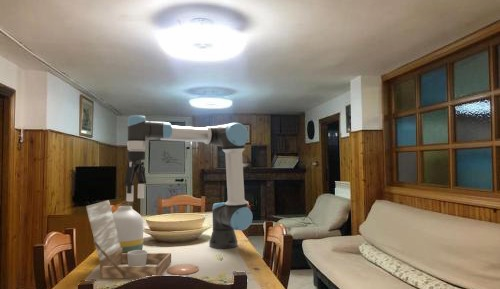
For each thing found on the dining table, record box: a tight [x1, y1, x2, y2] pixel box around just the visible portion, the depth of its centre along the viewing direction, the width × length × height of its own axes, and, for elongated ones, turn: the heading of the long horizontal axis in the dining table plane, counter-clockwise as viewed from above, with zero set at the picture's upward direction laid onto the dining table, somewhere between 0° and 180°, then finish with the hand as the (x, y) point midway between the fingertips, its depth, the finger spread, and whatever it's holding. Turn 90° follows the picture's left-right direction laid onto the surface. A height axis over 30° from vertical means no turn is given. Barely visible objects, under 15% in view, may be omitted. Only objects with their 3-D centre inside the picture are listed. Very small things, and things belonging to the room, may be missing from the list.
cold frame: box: [85, 199, 172, 279], centre depth 159 cm, size 29×23×28 cm
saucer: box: [166, 263, 200, 276], centre depth 159 cm, size 13×13×1 cm
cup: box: [127, 249, 148, 266], centre depth 159 cm, size 11×8×8 cm
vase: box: [112, 205, 144, 253], centre depth 182 cm, size 17×17×24 cm
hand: (135, 199), depth 165 cm, fingers open, 13 cm apart
